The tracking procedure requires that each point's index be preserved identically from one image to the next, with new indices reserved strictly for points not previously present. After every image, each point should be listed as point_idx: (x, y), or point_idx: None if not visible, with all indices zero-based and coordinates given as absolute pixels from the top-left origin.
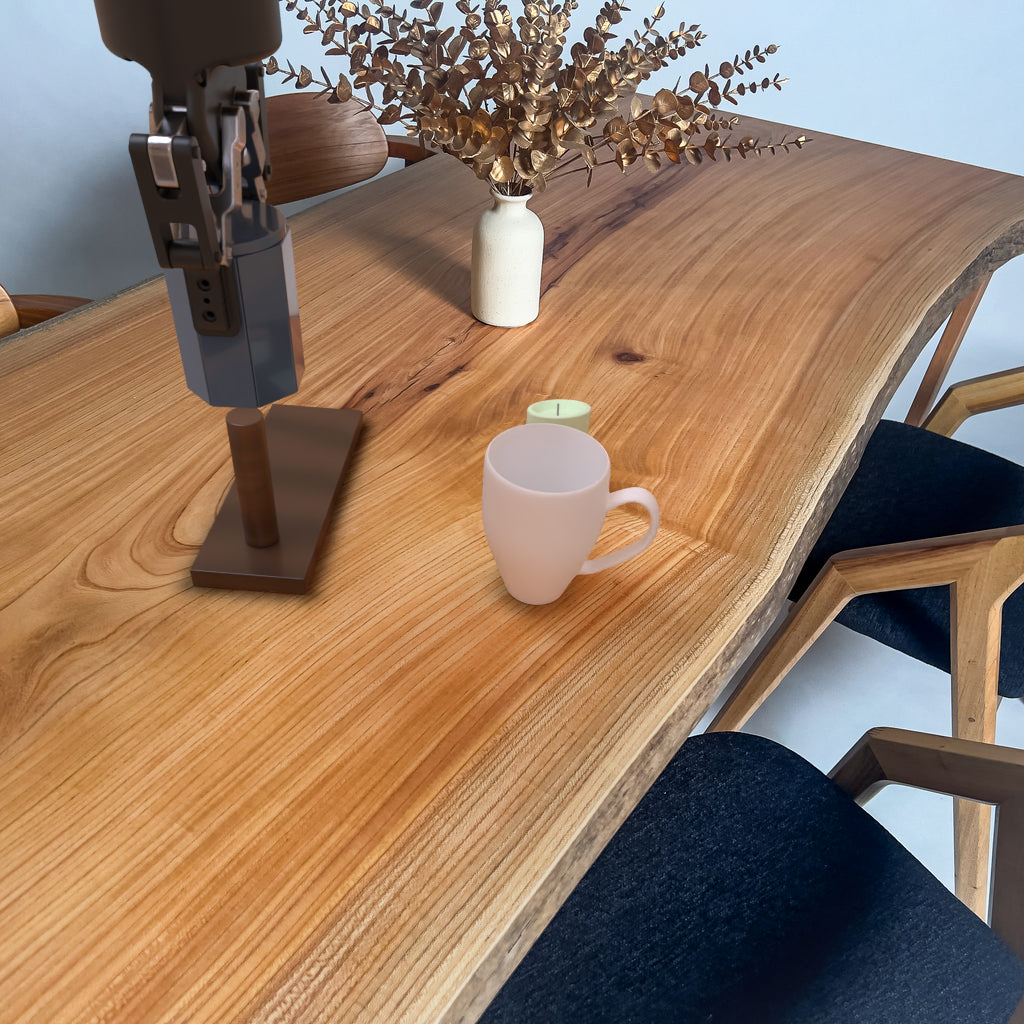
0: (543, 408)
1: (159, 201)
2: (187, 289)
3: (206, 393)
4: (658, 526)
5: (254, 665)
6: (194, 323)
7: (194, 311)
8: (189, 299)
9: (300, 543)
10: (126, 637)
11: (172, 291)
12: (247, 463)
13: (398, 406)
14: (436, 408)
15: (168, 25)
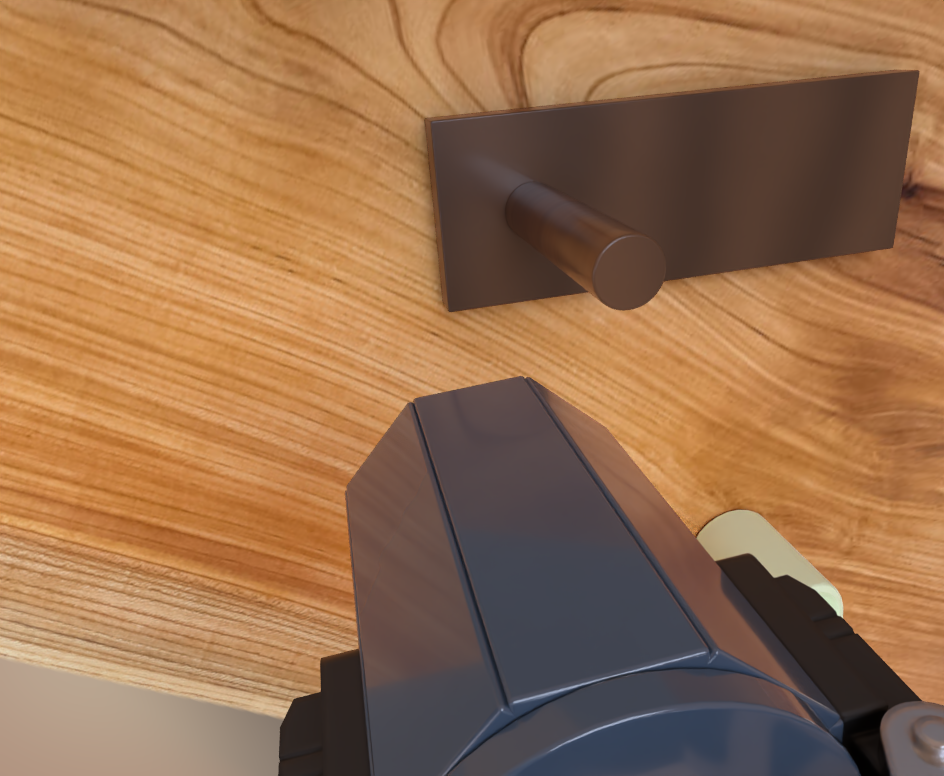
0: (821, 595)
1: None
2: (326, 771)
3: (350, 498)
4: None
5: (286, 285)
6: (322, 677)
7: (284, 755)
8: (324, 742)
9: (529, 275)
10: (284, 59)
11: (436, 599)
12: (561, 260)
13: (925, 282)
14: (917, 343)
15: None
